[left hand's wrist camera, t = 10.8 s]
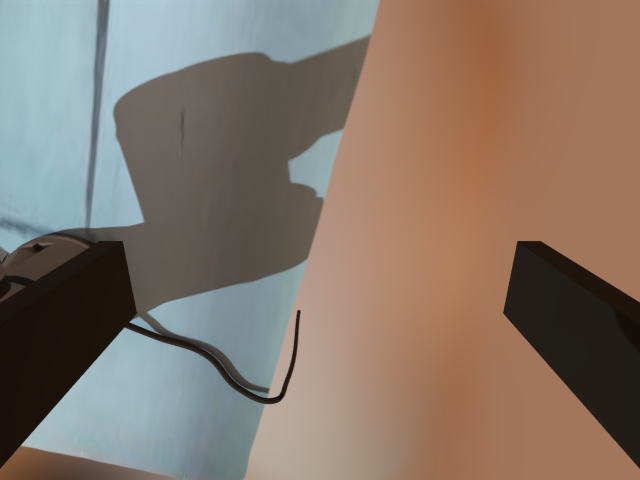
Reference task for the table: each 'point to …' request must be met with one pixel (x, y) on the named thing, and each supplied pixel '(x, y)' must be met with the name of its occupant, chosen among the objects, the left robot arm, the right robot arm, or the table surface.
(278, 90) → the table surface
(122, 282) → the left robot arm
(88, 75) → the table surface
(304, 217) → the table surface
